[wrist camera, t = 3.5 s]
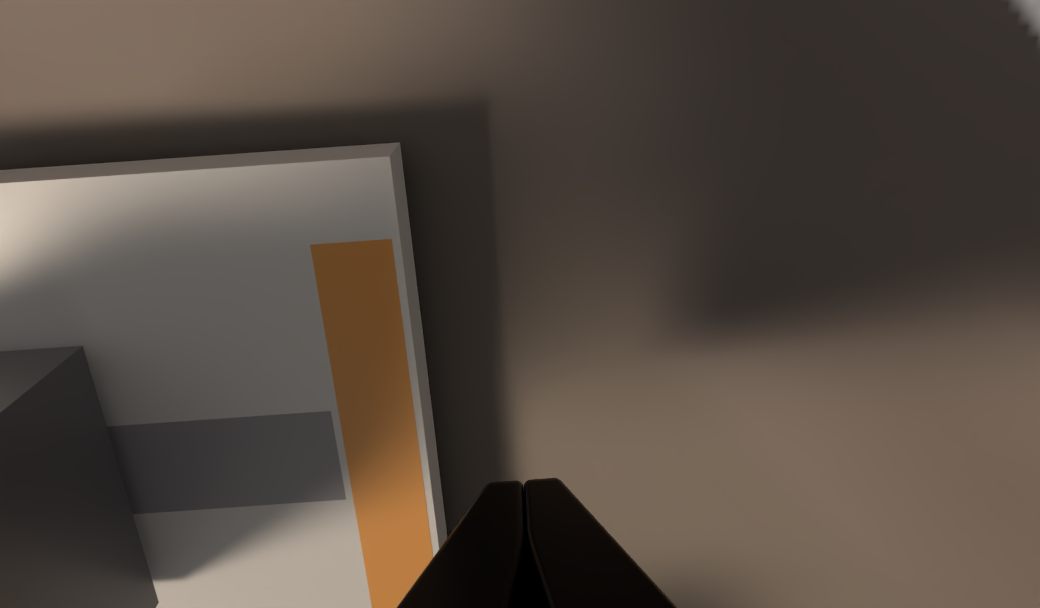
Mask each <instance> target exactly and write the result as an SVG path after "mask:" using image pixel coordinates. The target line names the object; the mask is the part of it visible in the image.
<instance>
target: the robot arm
mask: <svg viewBox="0 0 1040 608" xmlns="http://www.w3.org/2000/svg"><path fill="white" fill-rule="evenodd" d="M397 608H677V607H676V606H675V605H674V604H673V603H672V602H671V601H670V600H669V599H668V597H667V596H666V595H665V594H664V593H663V592H662V591H661V590H660V589H659V588H658V586H657V585H656V584H655V583H654V582H653V581H652V580H651V579H650V578H649V577H648V576H647V574H646V573H645V572H644V571H643V570H642V569H641V568H640V567H639V566H638V565H637V563H636V562H635V561H634V560H633V559H632V558H631V557H630V556H629V555H628V554H627V553H626V551H625V550H624V549H623V548H622V547H621V546H620V545H619V544H618V543H617V542H616V541H615V539H614V538H613V537H612V536H611V535H610V534H609V533H608V532H607V531H606V530H605V528H604V527H603V526H602V525H601V524H600V523H599V522H598V521H597V520H596V519H595V518H594V516H593V515H592V514H591V513H590V512H589V511H588V510H587V509H586V508H585V507H584V505H583V504H582V503H581V502H580V501H579V500H578V499H577V498H576V497H575V496H574V495H573V493H572V492H571V491H570V490H569V489H568V488H567V487H566V486H565V485H564V484H563V482H562V481H561V480H559V479H557V478H547V479H533V480H528V481H526V482H525V484H524V488H523V484H522V483H521V482H520V481H504V482H491V483H489V484H487V485H486V486H485V488H484V489H483V490H482V492H481V493H480V494H479V496H478V497H477V498H476V500H475V501H474V503H473V504H472V505H471V507H470V508H469V509H468V511H467V512H466V513H465V515H464V516H463V518H462V519H461V520H460V522H459V523H458V524H457V526H456V527H455V529H454V530H453V531H452V533H451V534H450V535H449V537H448V538H447V539H446V541H445V542H444V544H443V545H442V546H441V548H440V549H439V550H438V552H437V553H436V554H435V556H434V557H433V559H432V560H431V561H430V563H429V564H428V565H427V567H426V568H425V569H424V571H423V572H422V574H421V575H420V576H419V578H418V579H417V580H416V582H415V583H414V585H413V586H412V587H411V589H410V590H409V591H408V593H407V594H406V595H405V597H404V598H403V600H402V601H401V602H400V604H399V605H398V606H397Z"/></svg>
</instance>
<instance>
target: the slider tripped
mask: <svg viewBox="0 0 1040 608" xmlns="http://www.w3.org/2000/svg"><path fill="white" fill-rule="evenodd" d="M158 603H159V601H158V598H157V594H156V591H155V588H154V584H153V581H152V577H151V574H150V571H149V567H148V564H147V561H146V557H145V554H144V551H143V547H142V544H141V540H140V537H139V534H138V530H137V527H136V524H135V520H134V517H133V514H132V510H131V507H130V503H129V500H128V497H127V493H126V490H125V487H124V483H123V480H122V476H121V473H120V470H119V466H118V463H117V460H116V456H115V453H114V450H113V446H112V443H111V439H110V436H109V433H108V429H107V426H106V423H105V419H104V416H103V413H102V409H101V406H100V402H99V399H98V396H97V392H96V389H95V386H94V382H93V379H92V375H91V372H90V369H89V365H88V362H87V359H86V355H85V352H84V349H83V346H72V347H57V348H43V349H29V350H14V351H0V608H156V607H157V605H158Z"/></svg>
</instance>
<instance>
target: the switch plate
mask: <svg viewBox="0 0 1040 608" xmlns="http://www.w3.org/2000/svg"><path fill="white" fill-rule="evenodd" d="M72 346H83V349H84V352H85V355H86V359H87V362H88V365H89V369H90V372H91V375H92V379H93V382H94V386H95V389H96V392H97V396H98V399H99V402H100V406H101V409H102V413H103V416H104V419H105V423H106V426H107V429H108V433H109V436H110V439H111V443H112V446H113V450H114V453H115V456H116V460H117V463H118V466H119V470H120V473H121V476H122V480H123V483H124V487H125V490H126V493H127V497H128V500H129V503H130V507H131V510H132V514H133V517H134V520H135V524H136V527H137V530H138V534H139V537H140V540H141V544H142V547H143V551H144V554H145V557H146V561H147V564H148V567H149V571H150V574H151V577H152V581H153V584H154V588H155V591H156V594H157V598H158V601H159V603H158V605H157V607H156V608H397V606H398V605H399V604H400V602H401V601H402V600H403V598H404V597H405V595H406V594H407V593H408V591H409V590H410V589H411V587H412V586H413V585H414V583H415V582H416V580H417V579H418V578H419V576H420V575H421V574H422V572H423V571H424V569H425V568H426V567H427V565H428V564H429V563H430V561H431V560H432V559H433V557H434V556H435V554H436V553H437V552H438V550H439V549H440V548H441V546H442V545H443V544H444V542H445V541H446V539H447V530H446V521H445V513H444V505H443V496H442V488H441V480H440V471H439V463H438V455H437V447H436V438H435V430H434V422H433V413H432V405H431V397H430V388H429V380H428V372H427V363H426V355H425V347H424V338H423V330H422V322H421V313H420V305H419V297H418V288H417V280H416V272H415V264H414V255H413V247H412V239H411V230H410V222H409V214H408V205H407V197H406V189H405V180H404V172H403V164H402V155H401V147H400V142H399V143H385V144H370V145H356V146H341V147H327V148H312V149H298V150H284V151H269V152H255V153H240V154H226V155H211V156H197V157H183V158H168V159H154V160H139V161H125V162H111V163H96V164H82V165H67V166H53V167H38V168H24V169H10V170H0V351H14V350H29V349H43V348H57V347H72Z"/></svg>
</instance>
